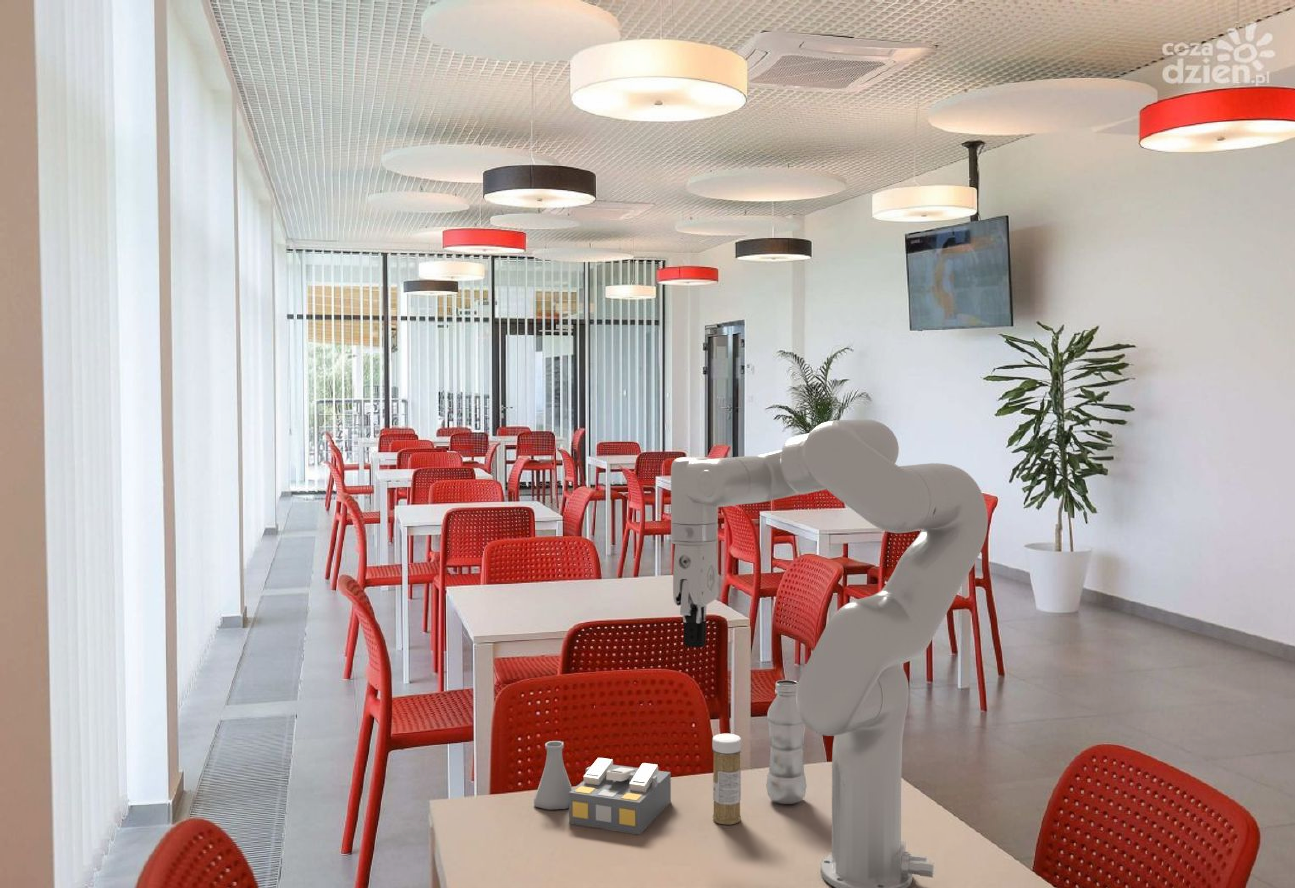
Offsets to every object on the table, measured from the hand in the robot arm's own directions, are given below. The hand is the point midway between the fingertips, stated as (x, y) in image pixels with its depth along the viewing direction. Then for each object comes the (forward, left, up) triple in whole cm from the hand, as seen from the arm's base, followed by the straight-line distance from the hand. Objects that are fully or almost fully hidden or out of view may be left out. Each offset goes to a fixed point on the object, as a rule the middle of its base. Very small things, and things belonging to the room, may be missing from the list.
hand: (694, 645), depth 170 cm
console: (+11, +5, -27) cm, 30 cm away
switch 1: (+15, +5, -21) cm, 26 cm away
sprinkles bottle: (-6, +2, -27) cm, 28 cm away
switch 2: (+11, +5, -21) cm, 24 cm away
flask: (+23, +5, -27) cm, 36 cm away
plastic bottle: (-13, -9, -27) cm, 32 cm away
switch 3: (+7, +5, -21) cm, 23 cm away
